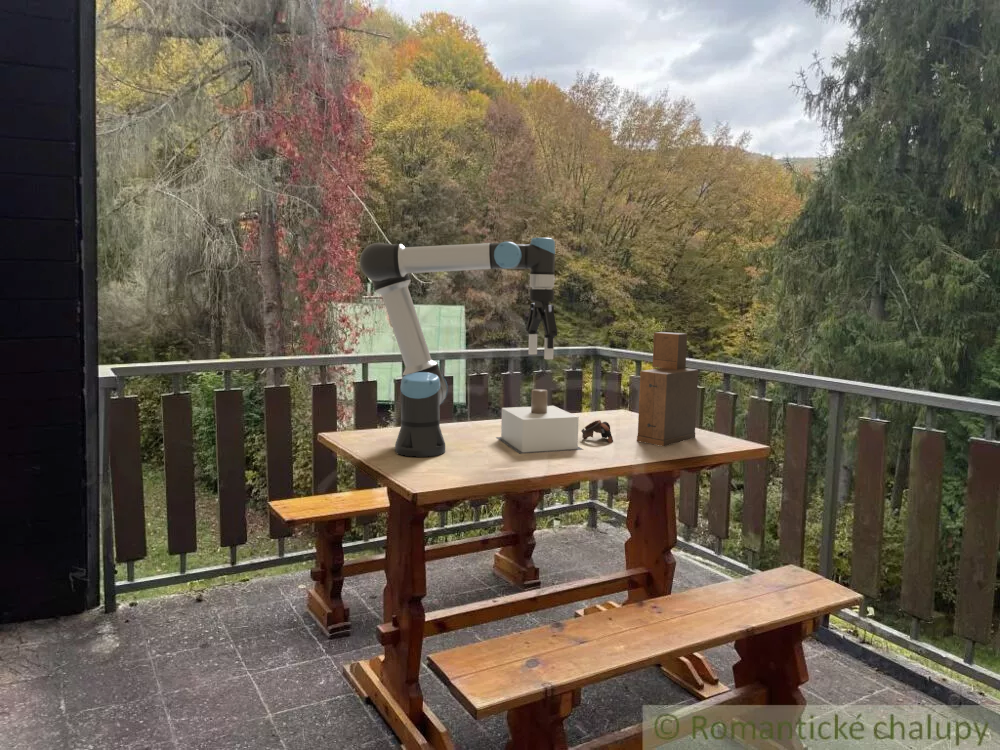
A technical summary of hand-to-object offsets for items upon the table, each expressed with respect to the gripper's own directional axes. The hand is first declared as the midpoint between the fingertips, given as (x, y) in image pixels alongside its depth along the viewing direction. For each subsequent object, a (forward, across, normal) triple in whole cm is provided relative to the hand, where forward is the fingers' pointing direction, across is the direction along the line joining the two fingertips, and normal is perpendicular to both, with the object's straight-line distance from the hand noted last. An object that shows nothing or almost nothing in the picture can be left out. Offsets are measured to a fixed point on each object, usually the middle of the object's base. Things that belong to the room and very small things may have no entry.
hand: (540, 356), depth 230 cm
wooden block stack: (+28, -2, -45) cm, 53 cm away
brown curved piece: (+29, -1, -21) cm, 35 cm away
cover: (+28, 0, 0) cm, 28 cm away
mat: (+28, 0, 0) cm, 28 cm away
